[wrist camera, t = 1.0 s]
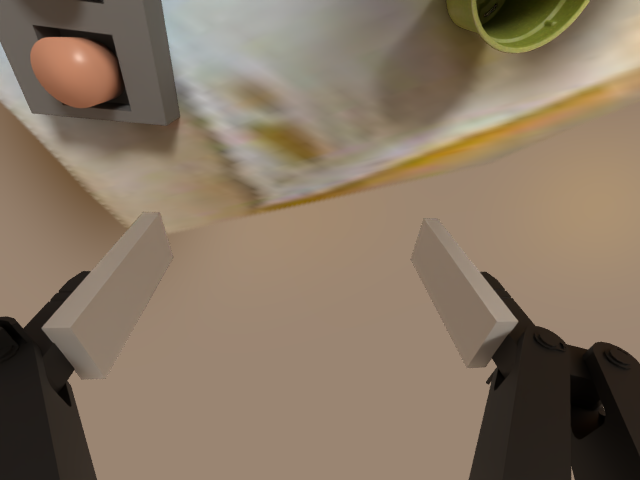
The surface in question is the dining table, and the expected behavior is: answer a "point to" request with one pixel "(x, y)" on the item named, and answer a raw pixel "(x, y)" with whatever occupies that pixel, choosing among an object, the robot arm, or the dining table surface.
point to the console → (109, 29)
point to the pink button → (77, 70)
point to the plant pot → (516, 21)
